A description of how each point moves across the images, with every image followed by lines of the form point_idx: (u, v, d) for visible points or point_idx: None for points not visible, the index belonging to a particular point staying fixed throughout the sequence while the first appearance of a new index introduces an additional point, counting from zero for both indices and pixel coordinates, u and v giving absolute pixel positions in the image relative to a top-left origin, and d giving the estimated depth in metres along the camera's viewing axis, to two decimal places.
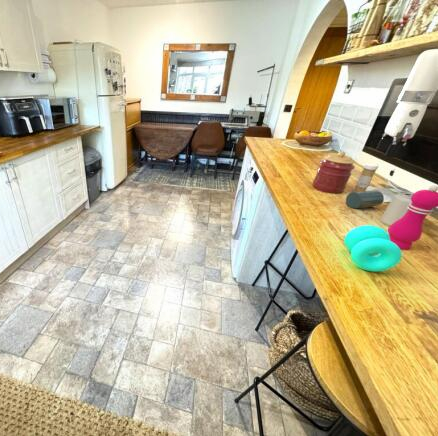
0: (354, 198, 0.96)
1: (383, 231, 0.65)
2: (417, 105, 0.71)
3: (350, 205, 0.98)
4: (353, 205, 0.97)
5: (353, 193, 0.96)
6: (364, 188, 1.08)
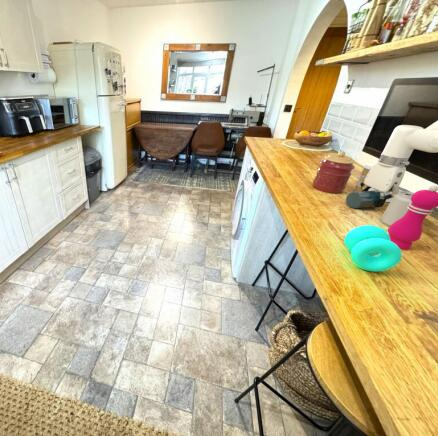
0: (354, 198, 0.96)
1: (383, 231, 0.65)
2: (401, 169, 0.86)
3: (350, 205, 0.98)
4: (353, 205, 0.97)
5: (353, 193, 0.96)
6: None
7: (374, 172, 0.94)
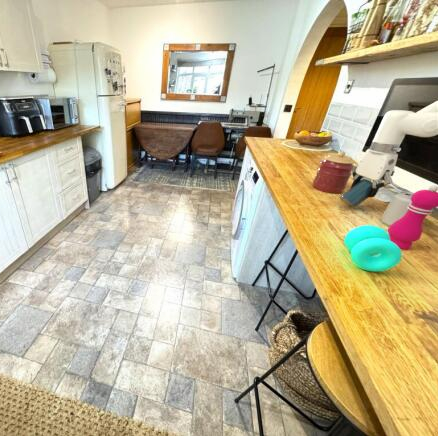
0: (346, 201, 0.96)
1: (383, 231, 0.65)
2: (393, 155, 0.83)
3: (349, 205, 0.98)
4: (350, 206, 0.97)
5: (342, 198, 0.97)
6: None
7: (365, 160, 0.90)
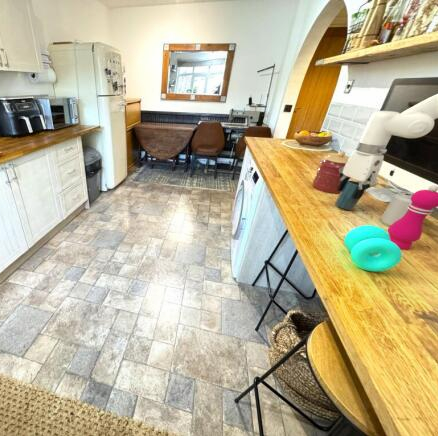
0: None
1: (383, 231, 0.65)
2: (379, 157, 0.83)
3: None
4: None
5: None
6: None
7: (352, 161, 0.90)
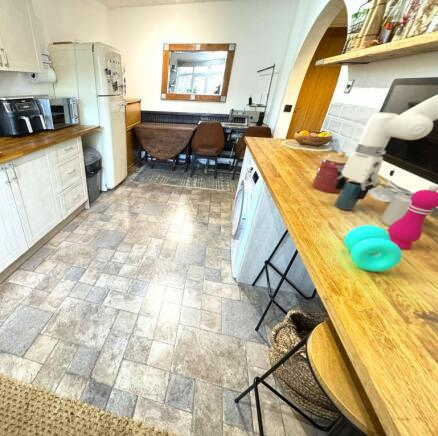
0: None
1: (383, 231, 0.65)
2: (378, 158, 0.83)
3: None
4: None
5: None
6: None
7: (351, 162, 0.90)
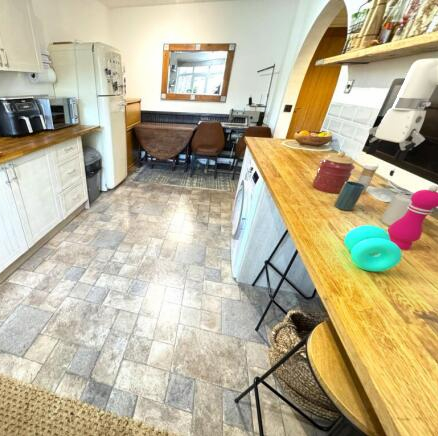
0: None
1: (383, 231, 0.65)
2: (421, 112, 0.74)
3: None
4: None
5: None
6: None
7: (388, 121, 0.81)
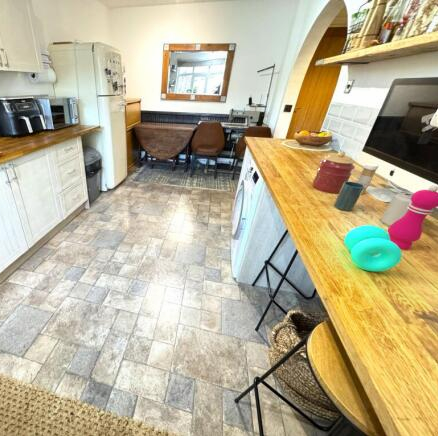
0: None
1: (383, 231, 0.65)
2: None
3: None
4: None
5: None
6: (364, 188, 1.08)
7: None
